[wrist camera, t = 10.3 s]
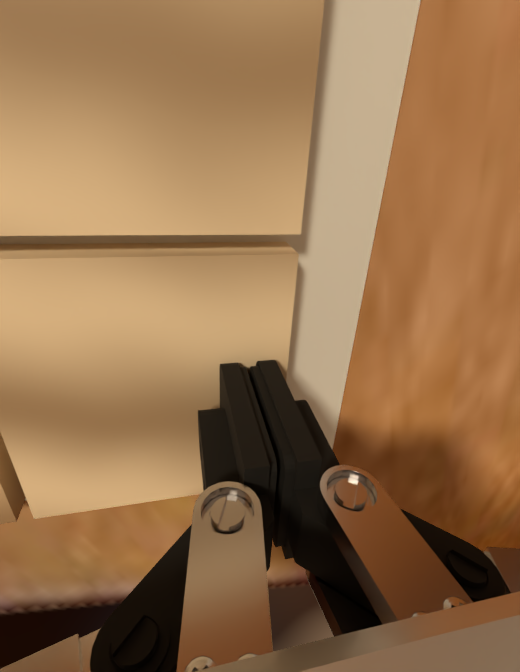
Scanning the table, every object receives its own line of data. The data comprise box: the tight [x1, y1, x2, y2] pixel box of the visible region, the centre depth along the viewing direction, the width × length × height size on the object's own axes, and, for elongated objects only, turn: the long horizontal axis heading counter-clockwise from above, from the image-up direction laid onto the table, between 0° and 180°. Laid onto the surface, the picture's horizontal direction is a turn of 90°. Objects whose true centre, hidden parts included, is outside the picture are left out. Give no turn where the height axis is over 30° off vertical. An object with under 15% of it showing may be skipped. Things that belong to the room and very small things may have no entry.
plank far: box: [0, 242, 299, 519], centre depth 11 cm, size 8×8×1 cm
